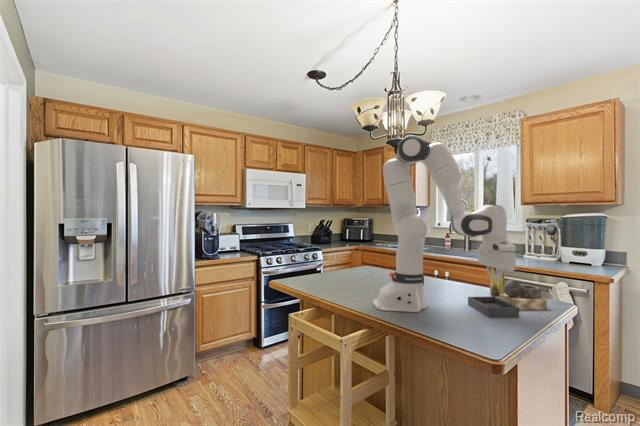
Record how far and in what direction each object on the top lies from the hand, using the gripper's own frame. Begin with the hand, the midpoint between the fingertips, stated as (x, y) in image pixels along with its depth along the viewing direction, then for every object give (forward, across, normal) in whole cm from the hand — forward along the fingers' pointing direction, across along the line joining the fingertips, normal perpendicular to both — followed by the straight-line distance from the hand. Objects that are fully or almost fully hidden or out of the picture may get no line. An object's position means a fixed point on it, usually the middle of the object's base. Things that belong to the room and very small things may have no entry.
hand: (494, 278), depth 126 cm
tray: (+13, 0, -1) cm, 13 cm away
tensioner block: (+13, -5, +15) cm, 20 cm away
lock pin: (+7, 0, 0) cm, 7 cm away
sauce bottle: (+14, -22, +15) cm, 30 cm away
